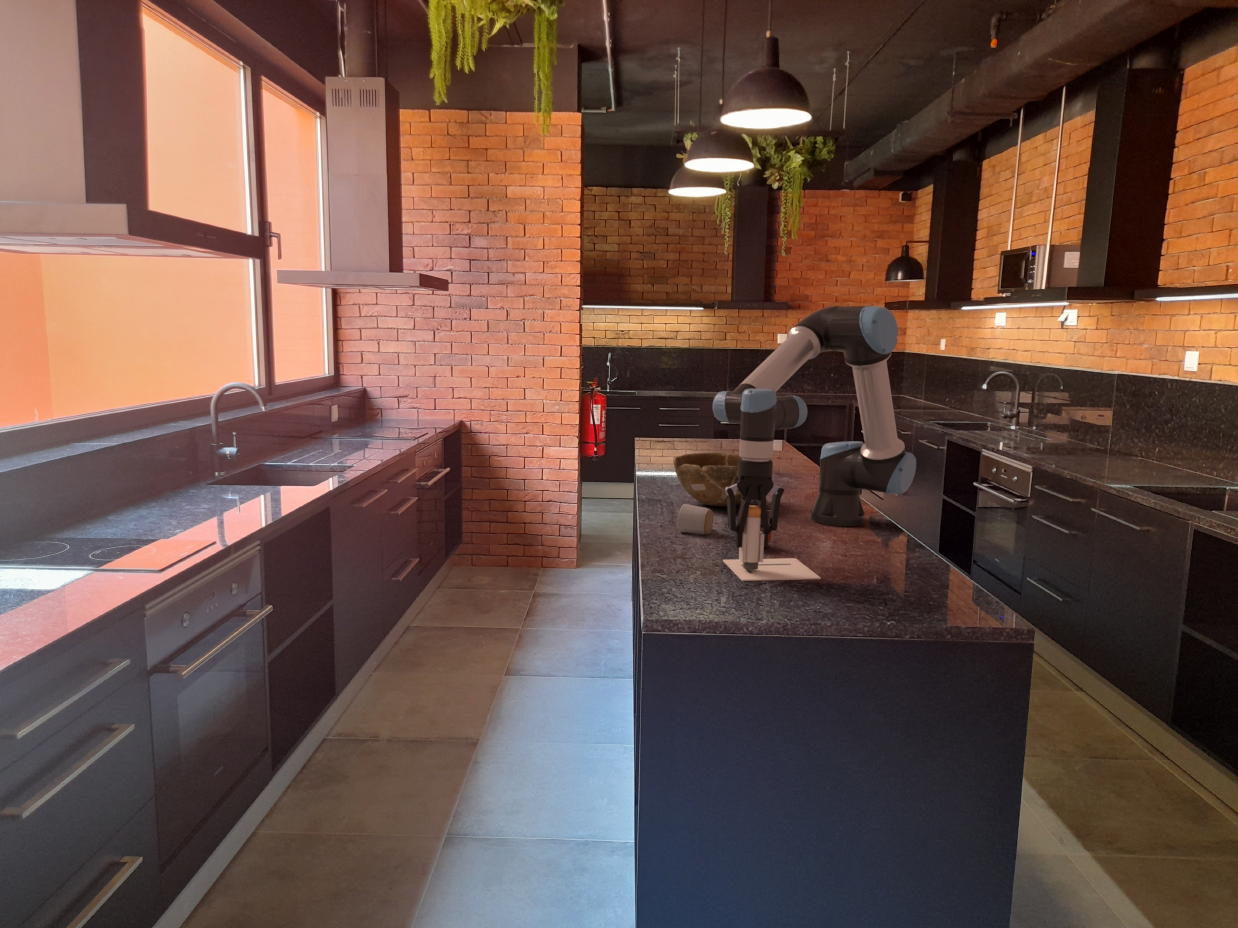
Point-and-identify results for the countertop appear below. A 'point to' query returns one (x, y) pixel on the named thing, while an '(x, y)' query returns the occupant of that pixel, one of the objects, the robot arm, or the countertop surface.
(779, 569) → the paper
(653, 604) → the countertop surface
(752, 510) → the marker
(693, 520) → the ceramic mug
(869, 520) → the countertop surface
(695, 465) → the bowl
